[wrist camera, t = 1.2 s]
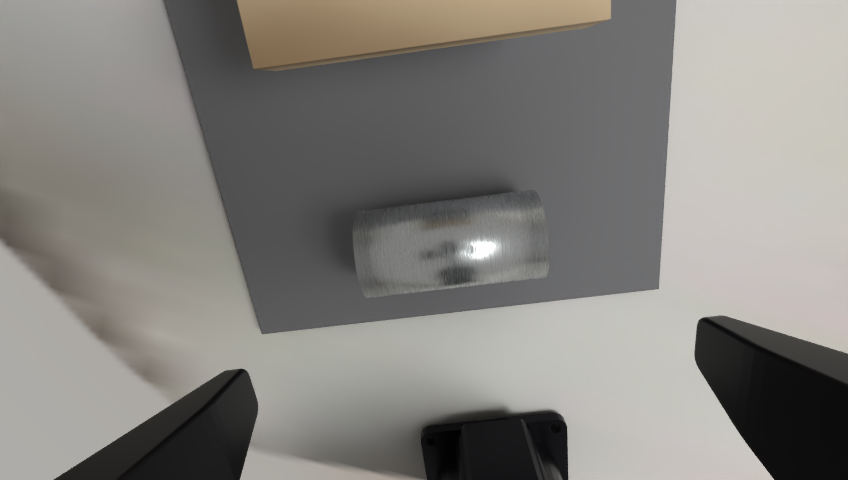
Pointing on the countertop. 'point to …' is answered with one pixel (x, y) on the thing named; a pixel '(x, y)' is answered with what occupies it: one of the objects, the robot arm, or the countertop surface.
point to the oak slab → (396, 26)
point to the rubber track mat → (436, 155)
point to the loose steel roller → (451, 244)
